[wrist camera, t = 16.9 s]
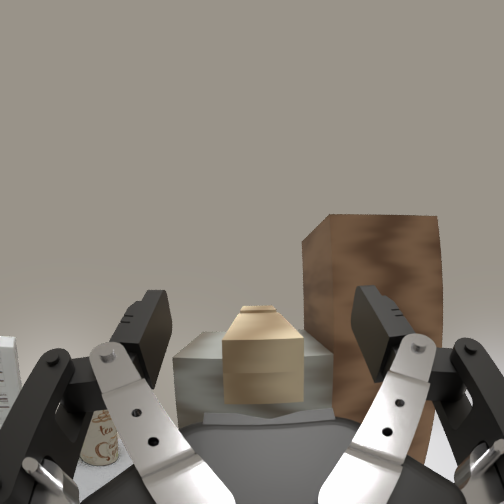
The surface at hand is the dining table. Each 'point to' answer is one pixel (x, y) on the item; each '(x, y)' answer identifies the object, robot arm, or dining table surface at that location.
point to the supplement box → (8, 376)
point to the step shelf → (336, 320)
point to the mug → (100, 440)
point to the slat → (262, 359)
